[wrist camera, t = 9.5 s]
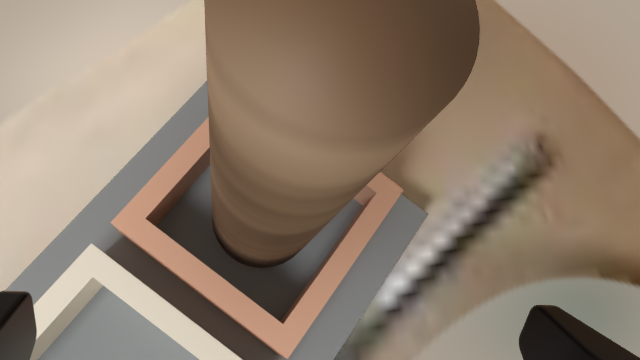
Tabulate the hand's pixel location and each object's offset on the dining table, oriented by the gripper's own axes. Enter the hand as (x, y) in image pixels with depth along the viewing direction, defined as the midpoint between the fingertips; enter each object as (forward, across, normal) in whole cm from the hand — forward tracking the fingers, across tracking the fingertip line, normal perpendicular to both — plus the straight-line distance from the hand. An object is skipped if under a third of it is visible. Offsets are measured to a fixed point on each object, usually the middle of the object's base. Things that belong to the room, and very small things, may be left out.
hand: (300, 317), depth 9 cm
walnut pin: (+10, 0, +4) cm, 11 cm away
